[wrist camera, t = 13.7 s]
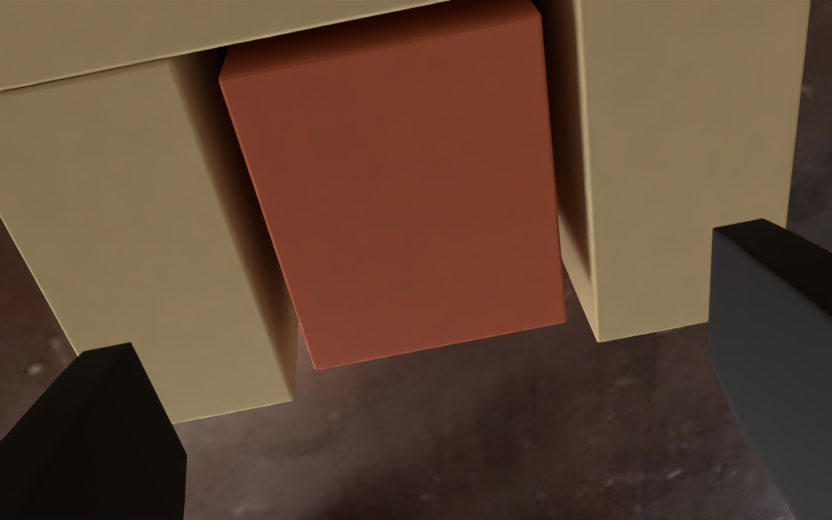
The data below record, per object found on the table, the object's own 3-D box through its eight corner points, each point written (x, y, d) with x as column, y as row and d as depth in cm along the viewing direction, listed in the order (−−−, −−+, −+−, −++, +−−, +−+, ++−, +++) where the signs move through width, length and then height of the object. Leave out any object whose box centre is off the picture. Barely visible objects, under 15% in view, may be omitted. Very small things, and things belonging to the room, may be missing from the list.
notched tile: (711, 222, 17) (778, 309, 14) (150, 330, 17) (119, 435, 14) (748, -591, 10) (890, -697, 7) (-190, -387, 10) (-358, -420, 8)
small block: (532, 232, 16) (567, 323, 14) (317, 274, 16) (314, 372, 14) (502, -42, 13) (541, 12, 11) (237, 11, 13) (217, 78, 11)
